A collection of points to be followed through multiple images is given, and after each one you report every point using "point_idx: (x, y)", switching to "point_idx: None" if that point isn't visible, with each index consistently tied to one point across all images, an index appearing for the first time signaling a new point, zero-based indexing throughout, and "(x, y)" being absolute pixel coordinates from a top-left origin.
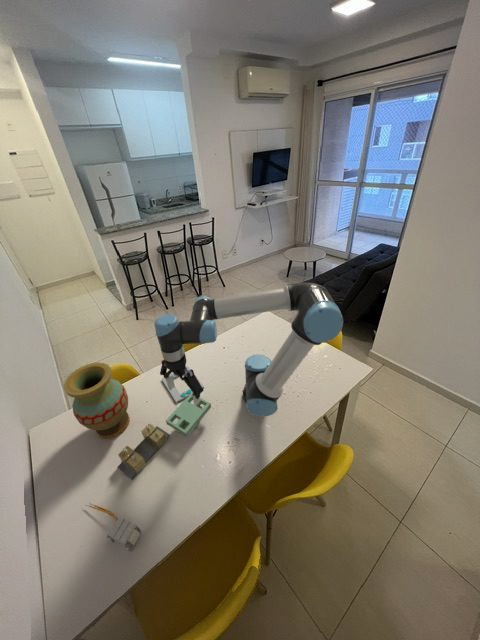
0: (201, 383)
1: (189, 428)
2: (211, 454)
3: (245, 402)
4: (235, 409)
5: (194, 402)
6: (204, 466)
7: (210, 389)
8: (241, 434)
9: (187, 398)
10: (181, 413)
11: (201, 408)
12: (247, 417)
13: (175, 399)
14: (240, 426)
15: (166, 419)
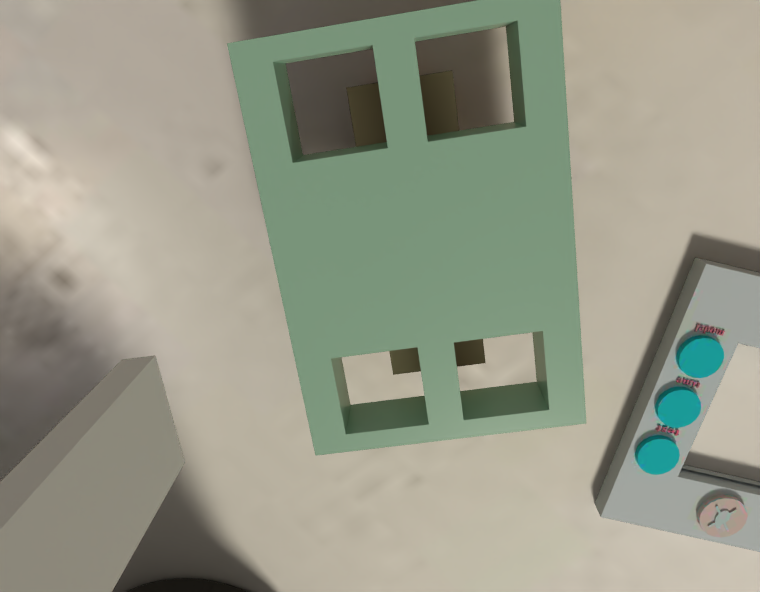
0: (644, 525)
1: (244, 113)
2: (75, 124)
3: (222, 585)
4: (239, 503)
5: (115, 384)
6: (32, 13)
7: (538, 522)
8: (47, 384)
9: (569, 354)
10: (472, 182)
11: (391, 359)
12: None
13: (732, 276)
14: None
15: (560, 5)
